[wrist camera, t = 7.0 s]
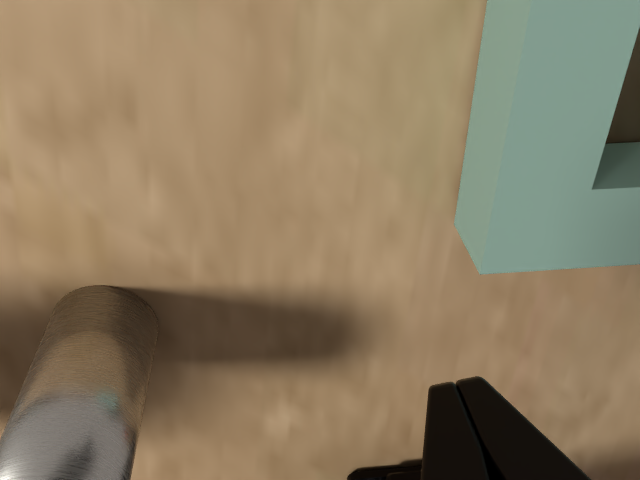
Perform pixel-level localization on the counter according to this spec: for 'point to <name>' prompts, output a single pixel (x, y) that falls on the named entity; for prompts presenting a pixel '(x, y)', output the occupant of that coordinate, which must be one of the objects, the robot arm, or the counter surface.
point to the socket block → (550, 139)
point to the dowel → (83, 391)
